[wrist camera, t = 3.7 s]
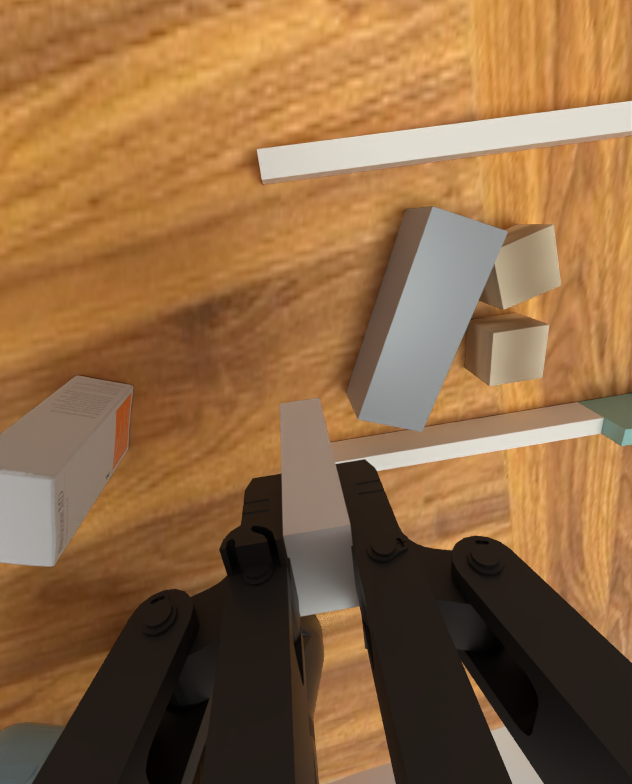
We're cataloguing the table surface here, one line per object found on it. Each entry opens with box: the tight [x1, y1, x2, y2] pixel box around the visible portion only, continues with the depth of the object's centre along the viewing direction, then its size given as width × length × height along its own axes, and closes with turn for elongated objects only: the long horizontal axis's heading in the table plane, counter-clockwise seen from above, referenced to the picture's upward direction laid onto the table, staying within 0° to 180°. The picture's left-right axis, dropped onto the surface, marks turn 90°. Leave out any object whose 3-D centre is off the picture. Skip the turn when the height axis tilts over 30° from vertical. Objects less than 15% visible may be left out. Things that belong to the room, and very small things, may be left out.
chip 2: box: [465, 313, 549, 386], centre depth 29 cm, size 4×4×4 cm
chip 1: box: [479, 224, 561, 310], centre depth 26 cm, size 4×4×4 cm
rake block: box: [346, 206, 508, 432], centre depth 27 cm, size 5×14×5 cm, turn 164°
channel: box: [257, 101, 632, 471], centre depth 28 cm, size 24×23×3 cm
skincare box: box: [0, 375, 133, 567], centre depth 24 cm, size 6×4×12 cm
